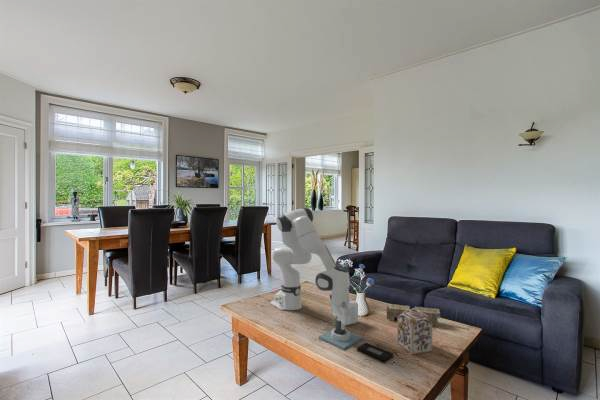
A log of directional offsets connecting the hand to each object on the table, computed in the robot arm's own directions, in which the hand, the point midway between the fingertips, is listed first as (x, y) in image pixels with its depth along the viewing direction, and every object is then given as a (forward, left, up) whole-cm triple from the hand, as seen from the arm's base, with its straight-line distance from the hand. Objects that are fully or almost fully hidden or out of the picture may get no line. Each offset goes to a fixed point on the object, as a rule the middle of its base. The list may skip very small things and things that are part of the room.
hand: (340, 326), depth 152 cm
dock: (0, 0, -6) cm, 6 cm away
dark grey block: (0, 0, -3) cm, 3 cm away
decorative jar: (+30, +19, -7) cm, 36 cm away
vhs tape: (+20, 0, -7) cm, 21 cm away
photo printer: (-8, +19, -7) cm, 22 cm away
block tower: (+15, +48, -7) cm, 51 cm away
